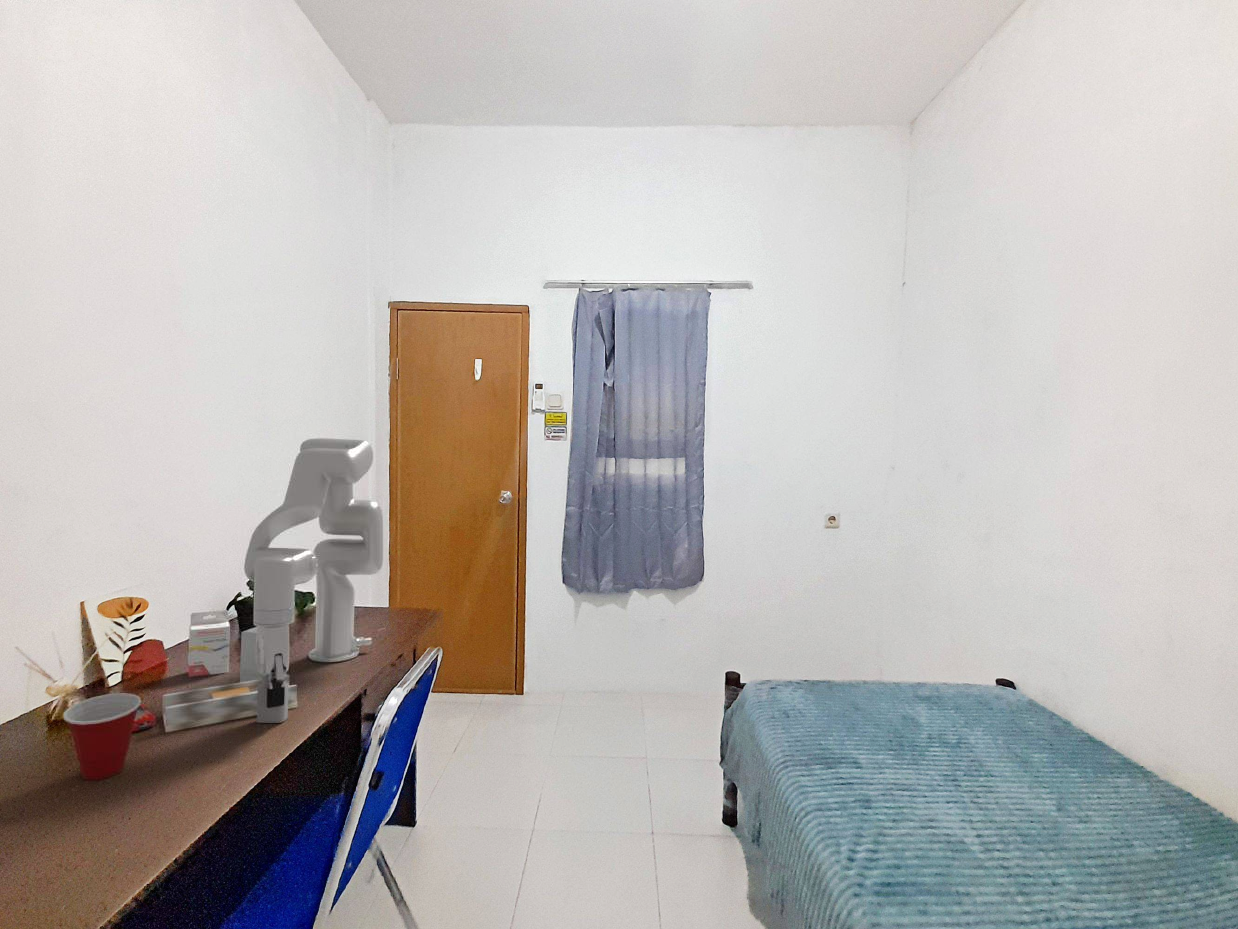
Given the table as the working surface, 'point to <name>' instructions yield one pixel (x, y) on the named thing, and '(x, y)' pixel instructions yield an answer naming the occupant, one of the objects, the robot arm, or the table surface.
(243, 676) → the supplement box
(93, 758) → the plastic cup
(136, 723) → the race car
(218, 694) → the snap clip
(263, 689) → the power adapter
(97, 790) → the table surface
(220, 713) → the rail board
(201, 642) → the ink cartridge box
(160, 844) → the table surface
